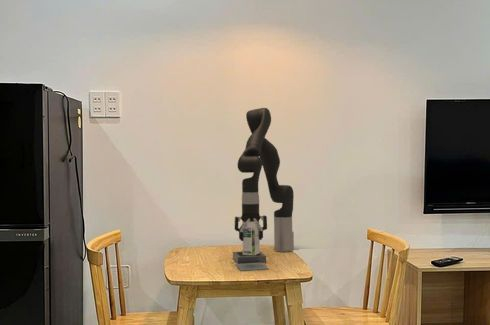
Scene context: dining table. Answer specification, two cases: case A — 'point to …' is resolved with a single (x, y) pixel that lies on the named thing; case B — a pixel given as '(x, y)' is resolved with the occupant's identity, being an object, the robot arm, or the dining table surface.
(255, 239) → the syrup box
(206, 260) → the dining table surface
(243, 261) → the holder
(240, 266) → the mat
